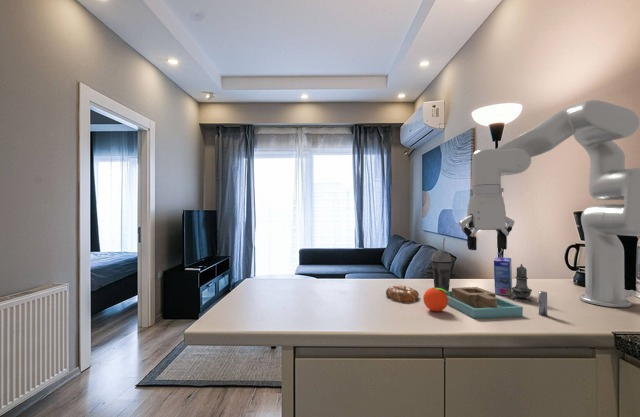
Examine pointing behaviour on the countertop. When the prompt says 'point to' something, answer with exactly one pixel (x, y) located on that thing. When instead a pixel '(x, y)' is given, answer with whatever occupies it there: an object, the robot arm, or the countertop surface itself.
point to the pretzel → (402, 293)
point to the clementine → (436, 299)
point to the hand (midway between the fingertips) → (487, 249)
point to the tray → (486, 309)
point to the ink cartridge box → (503, 275)
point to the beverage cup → (441, 268)
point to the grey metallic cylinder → (542, 303)
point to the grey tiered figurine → (521, 285)
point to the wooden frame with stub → (475, 297)
